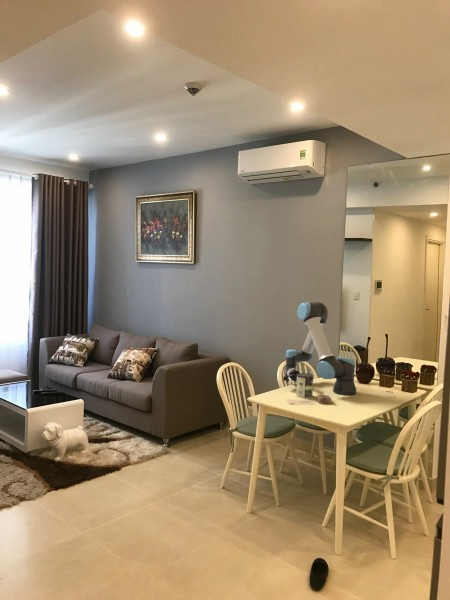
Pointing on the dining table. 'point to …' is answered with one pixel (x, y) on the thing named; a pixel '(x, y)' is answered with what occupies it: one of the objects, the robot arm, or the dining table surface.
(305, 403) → the letter
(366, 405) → the dining table surface
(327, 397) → the walnut block
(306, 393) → the coffee can
